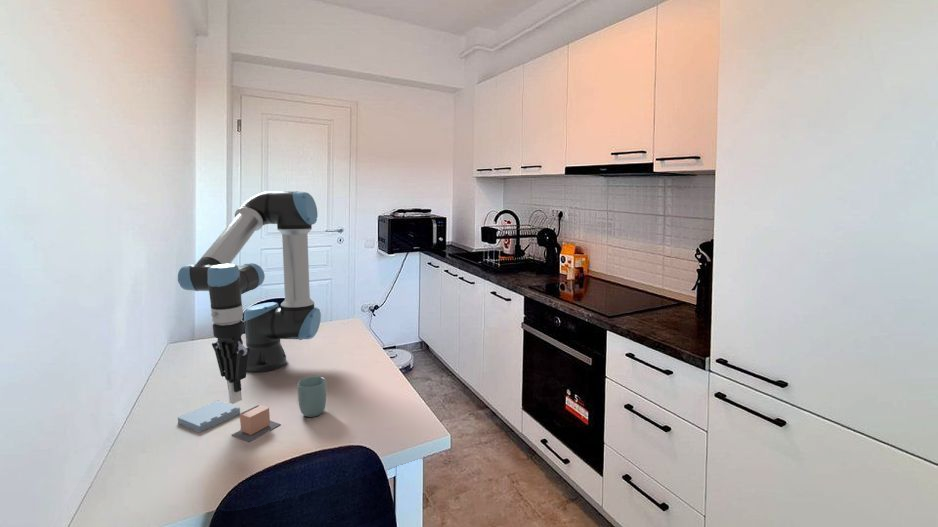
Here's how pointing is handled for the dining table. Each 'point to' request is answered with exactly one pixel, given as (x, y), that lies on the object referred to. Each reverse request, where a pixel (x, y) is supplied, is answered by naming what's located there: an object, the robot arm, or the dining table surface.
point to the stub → (254, 419)
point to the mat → (251, 437)
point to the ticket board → (208, 415)
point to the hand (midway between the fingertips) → (235, 401)
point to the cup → (312, 395)
